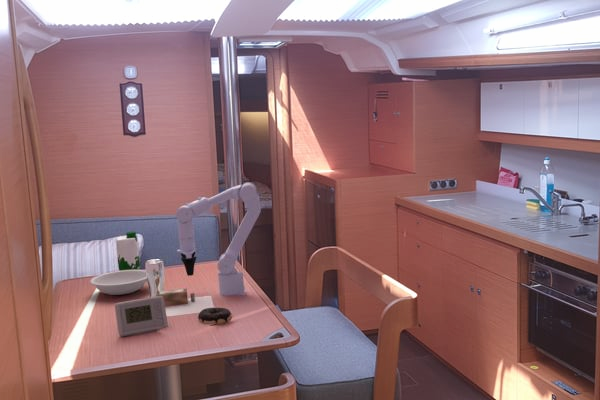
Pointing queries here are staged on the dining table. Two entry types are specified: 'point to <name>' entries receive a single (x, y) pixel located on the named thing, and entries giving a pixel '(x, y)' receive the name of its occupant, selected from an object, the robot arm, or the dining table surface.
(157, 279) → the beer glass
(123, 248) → the milk carton
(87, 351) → the dining table surface
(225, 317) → the donut
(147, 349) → the dining table surface
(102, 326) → the dining table surface
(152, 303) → the digital clock
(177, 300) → the brown rectangular box
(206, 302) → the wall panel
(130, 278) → the soup bowl
